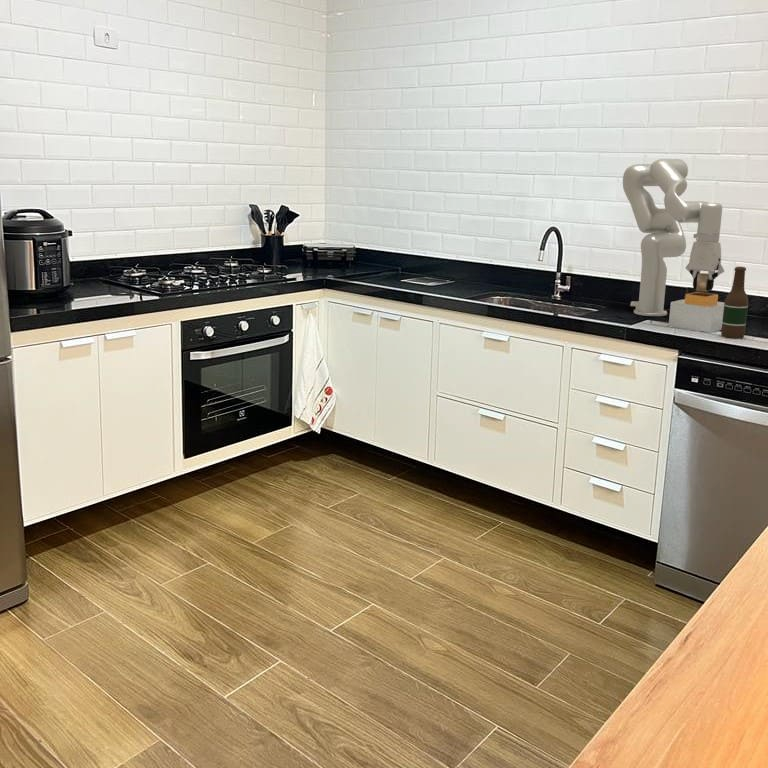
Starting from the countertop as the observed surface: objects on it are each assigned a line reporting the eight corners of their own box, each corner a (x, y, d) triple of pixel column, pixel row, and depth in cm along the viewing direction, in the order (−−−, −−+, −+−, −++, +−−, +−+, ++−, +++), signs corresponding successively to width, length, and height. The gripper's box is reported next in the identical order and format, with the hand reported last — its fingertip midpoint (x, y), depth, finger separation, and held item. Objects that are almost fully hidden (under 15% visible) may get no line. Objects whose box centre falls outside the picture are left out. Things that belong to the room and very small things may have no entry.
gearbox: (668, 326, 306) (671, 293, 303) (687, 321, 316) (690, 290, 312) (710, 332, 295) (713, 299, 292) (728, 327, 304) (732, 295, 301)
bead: (693, 290, 302) (695, 273, 300) (699, 289, 305) (701, 272, 303) (705, 291, 299) (707, 275, 297) (711, 290, 302) (712, 274, 300)
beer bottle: (747, 339, 285) (755, 268, 279) (723, 338, 286) (730, 268, 280) (741, 334, 292) (749, 265, 286) (718, 333, 294) (726, 265, 288)
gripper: (680, 237, 301) (675, 288, 305) (725, 240, 289) (720, 293, 293) (690, 236, 305) (686, 286, 310) (735, 239, 293) (730, 291, 298)
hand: (702, 289), depth 302 cm, fingers closed on bead, 4 cm apart
